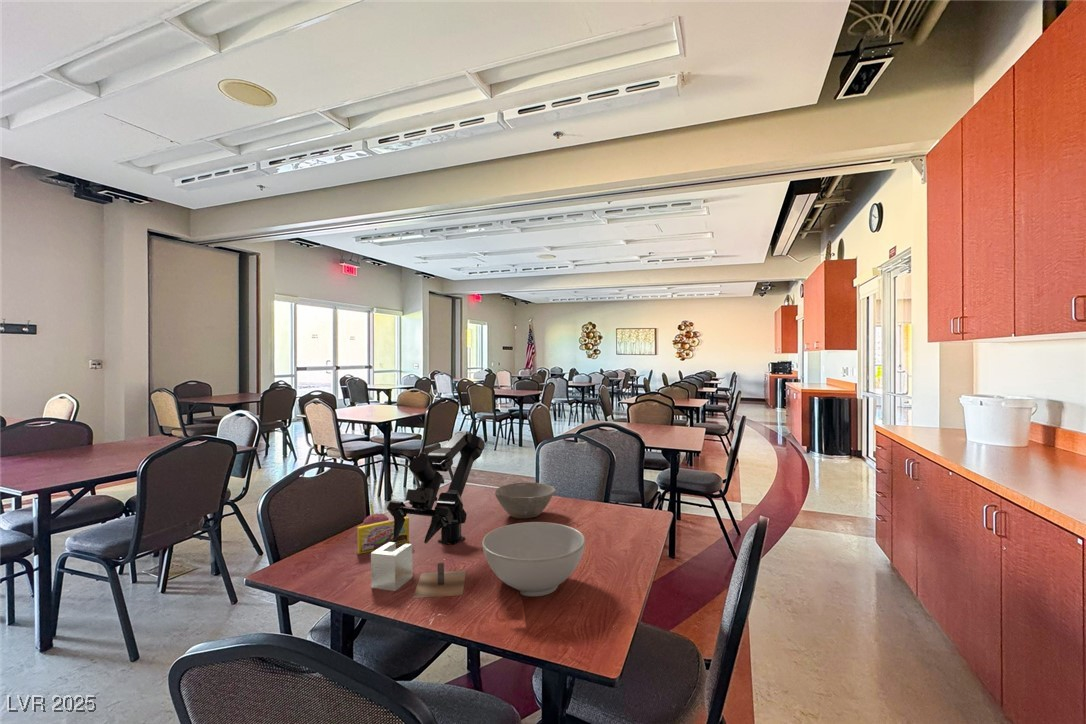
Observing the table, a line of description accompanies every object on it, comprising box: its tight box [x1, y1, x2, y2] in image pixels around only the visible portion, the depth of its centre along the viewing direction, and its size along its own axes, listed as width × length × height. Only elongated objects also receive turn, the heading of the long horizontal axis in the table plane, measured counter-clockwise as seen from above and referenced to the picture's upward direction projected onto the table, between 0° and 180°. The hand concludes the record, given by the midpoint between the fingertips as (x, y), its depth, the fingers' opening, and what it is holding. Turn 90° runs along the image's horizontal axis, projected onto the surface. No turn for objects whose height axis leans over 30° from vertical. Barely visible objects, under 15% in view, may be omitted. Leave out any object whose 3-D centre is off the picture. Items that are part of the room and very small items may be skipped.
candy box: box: [356, 516, 410, 555], centre depth 151 cm, size 16×2×8 cm, turn 128°
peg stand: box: [412, 562, 467, 599], centre depth 123 cm, size 14×12×6 cm
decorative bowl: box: [481, 521, 586, 597], centre depth 123 cm, size 27×27×12 cm
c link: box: [370, 542, 413, 592], centre depth 124 cm, size 8×7×10 cm
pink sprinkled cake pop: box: [362, 500, 390, 526], centre depth 163 cm, size 9×8×12 cm
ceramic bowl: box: [494, 482, 556, 520], centre depth 181 cm, size 22×23×10 cm
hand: (409, 540), depth 132 cm, fingers open, 9 cm apart
